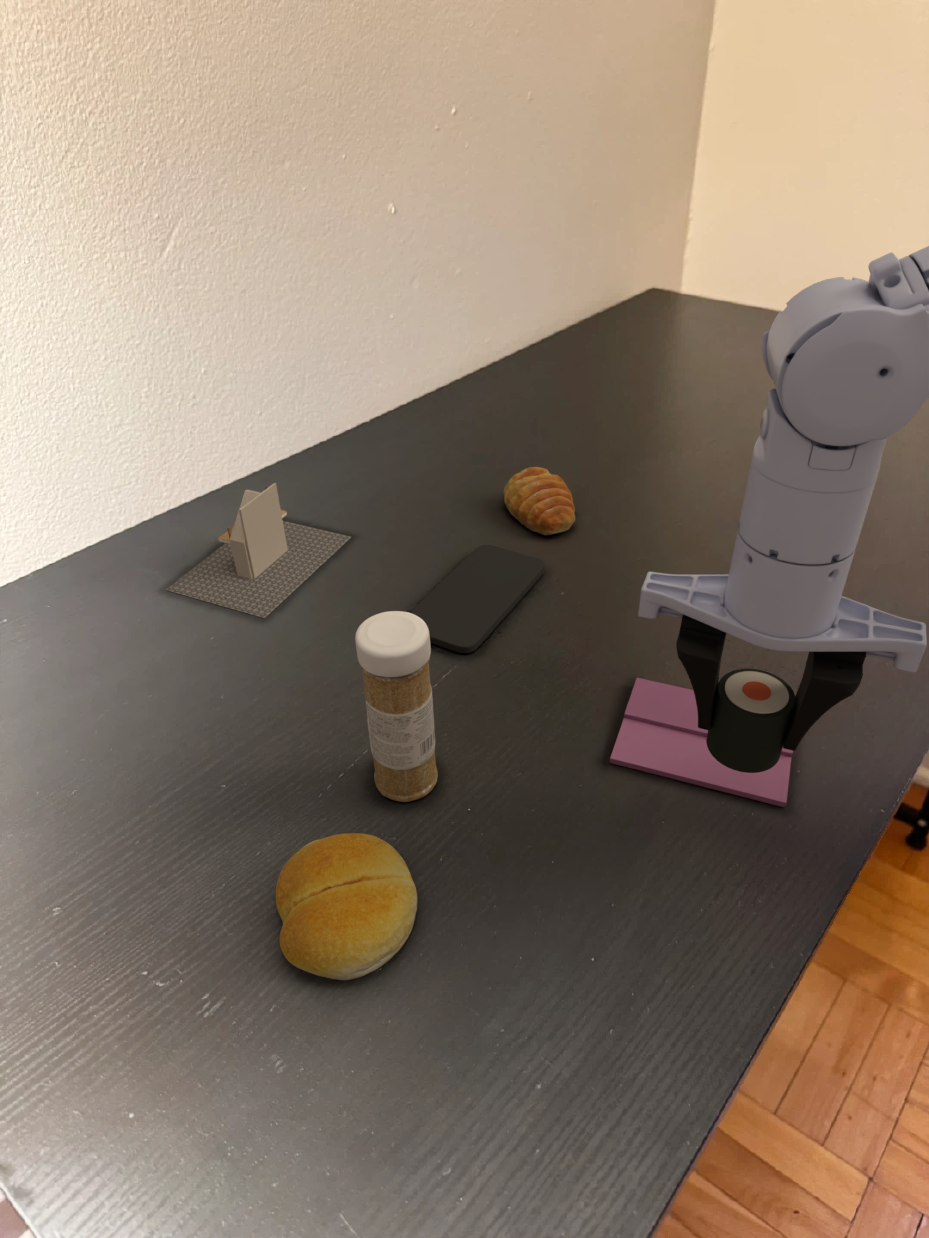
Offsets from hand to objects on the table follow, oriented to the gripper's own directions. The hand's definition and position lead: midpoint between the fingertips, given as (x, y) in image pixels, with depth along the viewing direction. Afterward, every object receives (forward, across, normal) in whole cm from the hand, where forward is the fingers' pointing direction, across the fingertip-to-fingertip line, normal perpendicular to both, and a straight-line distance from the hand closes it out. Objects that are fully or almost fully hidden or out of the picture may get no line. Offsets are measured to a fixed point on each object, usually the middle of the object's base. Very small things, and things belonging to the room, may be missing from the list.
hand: (748, 728), depth 51 cm
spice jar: (+9, +21, +4) cm, 23 cm away
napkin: (+8, +2, -7) cm, 11 cm away
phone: (+8, +24, -18) cm, 31 cm away
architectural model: (+9, +46, -17) cm, 50 cm away
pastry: (+9, +24, -35) cm, 43 cm away
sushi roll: (+2, 0, 0) cm, 2 cm away
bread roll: (+9, +20, +15) cm, 27 cm away
